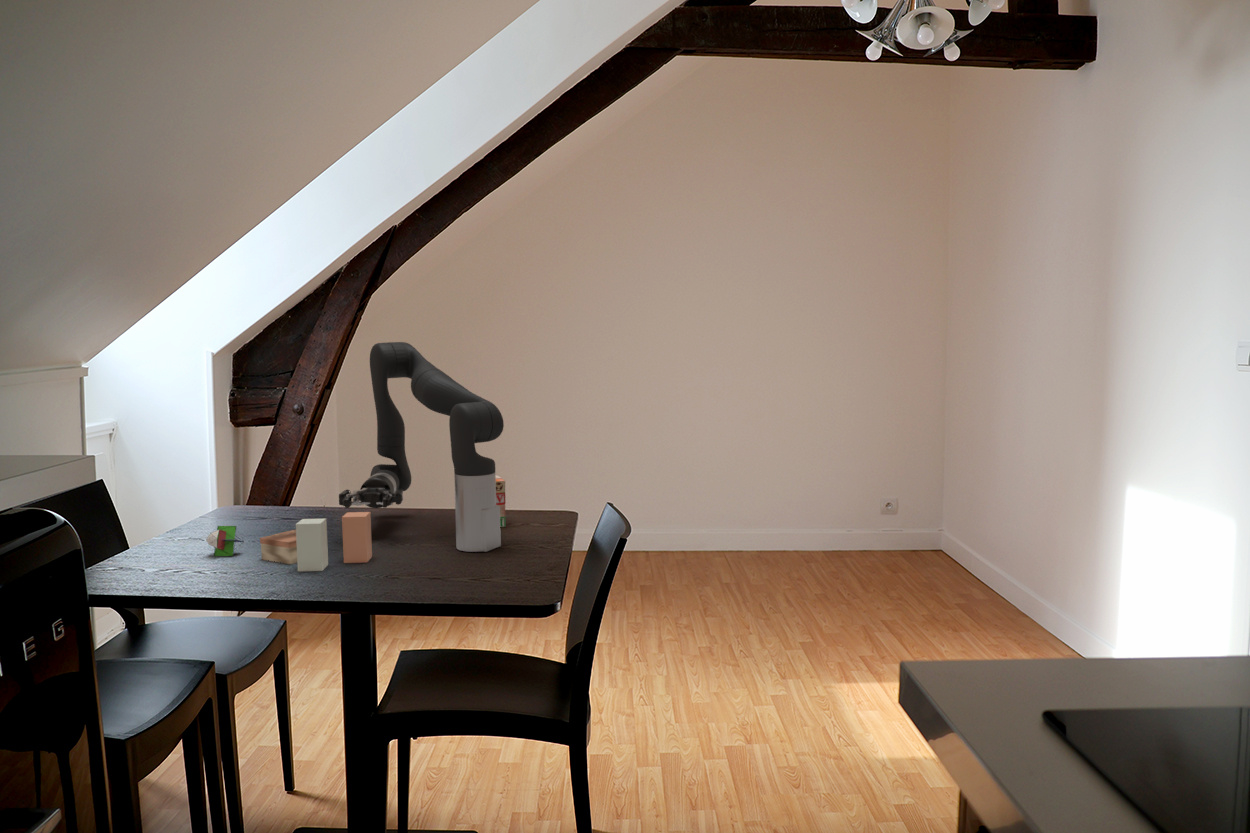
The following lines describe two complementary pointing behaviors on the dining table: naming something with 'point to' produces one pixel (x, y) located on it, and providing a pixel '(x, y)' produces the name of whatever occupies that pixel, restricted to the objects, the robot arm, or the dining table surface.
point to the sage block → (312, 544)
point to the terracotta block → (356, 537)
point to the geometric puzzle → (223, 540)
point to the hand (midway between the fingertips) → (365, 503)
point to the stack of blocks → (501, 499)
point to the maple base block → (280, 547)
